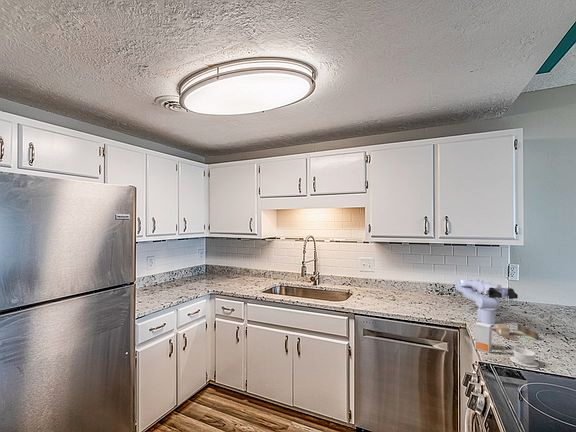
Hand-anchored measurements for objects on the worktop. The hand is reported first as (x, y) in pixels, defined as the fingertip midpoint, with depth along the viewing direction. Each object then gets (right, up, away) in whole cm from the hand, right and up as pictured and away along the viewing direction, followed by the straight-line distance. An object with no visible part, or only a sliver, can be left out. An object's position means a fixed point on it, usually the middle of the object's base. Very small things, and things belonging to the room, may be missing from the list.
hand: (509, 296), depth 159 cm
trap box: (+3, -21, +1) cm, 22 cm away
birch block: (-2, -20, +1) cm, 20 cm away
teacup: (-13, -22, -27) cm, 37 cm away
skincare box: (-23, -21, -15) cm, 35 cm away
